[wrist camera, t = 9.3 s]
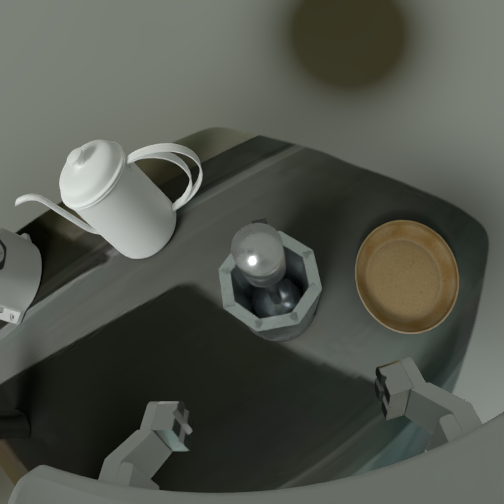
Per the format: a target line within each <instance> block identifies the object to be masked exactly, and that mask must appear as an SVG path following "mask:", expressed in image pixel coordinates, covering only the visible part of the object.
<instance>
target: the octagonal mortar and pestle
mask: <svg viewBox="0 0 504 504" xmlns="http://www.w3.org/2000/svg"><path fill="white" fill-rule="evenodd" d="M253 223H263V224H267V221H266V218H265V219H260V220H255V221H252V224H253ZM277 232H278V233H279V234H280V236H281V239H282V243H283V249H284V255H285V262H286V271H285V274H284V276H283V277H285V278H288V279H290V280H291V281H292V282H294V283H295V285H296V286H297V287H298V289H299V292H300V296H301V300H300V301H299V303H298V304H297V306H296V307H295V309H294V310H293V312H292V313H288V314H283V315H278V316H273V317H267V318H261V317H260V316H259V315H258V314H257V312H256V311H255V309H254V305H253V295H254V291H255V289H256V288H257V287H256V286H254V285H252V284H251V283H249V282H248V281H247V279H246V278H245V276H244V275H243V273H242V272H241V270H240V269H239V267H238V266H237V264H236V263H235V261H234V259H233V257H232V254H230V255H229V256H228V258H227V259H226V260H225V262H224V263H223V264H222V266H221V267H220V268H219V276H220V284H221V292H222V299H223V307H224V309H226V310H227V311H228V312H230V313H231V314H233V315H234V316H235V317H237V318H238V319H240V320H241V321H242V322H244V323H245V324H246V325H247V326H248V328H249V329H250V330H251V331H252V332H253V333H255V334H256V335H258V336H259V337H261V338H263V339H265V340H269V341H274V342H282V341H288V340H291V339H294V338H296V337H297V336H299V335H301V334H302V333H303V332H304V331H305V330H306V329H307V328H308V327H309V325H310V324H311V322H312V320H313V318H314V315H315V312H316V307H317V304H318V301H319V297H320V294H321V291H322V286H321V282H320V278H319V273H318V269H317V265H316V261H315V256H314V252H313V250H312V249H310V248H308V247H307V246H305V245H303V244H302V243H300V242H298V241H297V240H295V239H293V238H292V237H290V236H288V235H286V234H285V233H283V232H281V231H277Z"/></svg>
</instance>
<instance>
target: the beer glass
mask: <svg viewBox="0 0 504 504" xmlns="http://www.w3.org/2000/svg"><path fill="white" fill-rule="evenodd" d="M29 436H30V424H29V421H28V419H27V417H26V415H25V414H24V412H23V411H22V410H20V409H14V410H10V411H0V442H1V441H4V440H7V439H11V438H18V439H28V438H29Z"/></svg>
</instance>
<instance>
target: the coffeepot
mask: <svg viewBox="0 0 504 504" xmlns="http://www.w3.org/2000/svg"><path fill="white" fill-rule="evenodd" d="M170 152H176V153H181V154H184V155H187V156H188V157H190V158H192V159H193V160H194V161H195V162H196V163H197V164H198V166H199V168H200V173H199V177H198V179H197V181H196V183H195V184H194V186H193V187H192V179H191V173H190V170H189V168H188V166H187V165H186V164H185V162H184V161H183V160H182V159H181V158H179V157H178V156H176V155H175V154H173V153H170ZM144 158H160V159H166V160H169V161H172V162H174V163H176V164H177V165H179V166H180V167H181V168H182V169H183V170H184V171H185V172H186V173H187V175H188V177H189V179H190V181H189V185H188V187H187V189H186V191H185V193H184V194H183V195H182V197H180V198H179V199H178V200H176V202H175V203H173V204H172V202H171V201H170V199H169V198H168V197H167V196H166V195H165V194H164V193H163V192H162V191H161V190H160V189H159V188H158V187H157V186H156V185H155V184H154V183H153V182H152V181H151V180H150V179H149V178H148V177H147V176H146V175H145V174H144V173H143V172H142V171H141V170H140V168H139V167H138V166H137V165H136V164H135V163H134V161H136V160H139V159H144ZM201 182H202V168H201V163H200V160H199V158H198V156H197V155H196V154H195V153H194V152H193V151H192V150H190V149H189V148H187V147H185V146H182V145H178V144H173V143H163V144H155V145H151V146H147V147H144V148H141V149H139V150H136V151H134V152H133V153H131V154H129V155H128V156H127V155H126V154H125V152H124V150H123V148H122V147H121V145H120V144H118V143H117V142H115V141H111V140H103V139H97V140H93V141H90V142H88V143H86V144H84V145H83V146H81V147H80V148H76V149H74V150H73V151H72V152H71V153H70V154H69V156H68V157H67V162H66V163H65V165H64V167H63V170H62V172H61V176H60V180H59V187H60V191H61V198H62V201H63V202H64V204H65V205H66V206H68V207H69V208H71V209H73V210H75V211H76V212H77V213H78V214H79V215H80V216H81V217H82V218H83V219H84V220H85V221H86V222H87V223H88V224H89V225H91V226H92V227H91V226H89V225H87V224H86V223H84V222H82V221H81V220H79V219H78V218H76V217H75V216H73V215H72V214H70V213H69V212H67V211H66V210H64V209H62V208H61V207H59V206H58V205H56V204H55V203H53V202H52V201H50V200H49V199H47V198H45V197H44V196H41V195H39V194H26V195H23V196H21V197H19V198H17V200H16V203H15V206H17V205H19V204H21V203H23V202H26V201H30V200H34V201H38V202H41V203H43V204H44V205H46V206H48V207H49V208H51V209H52V210H54V211H55V212H57V213H59V214H60V215H62V216H63V217H65V218H66V219H68V220H70V221H71V222H73V223H74V224H76V225H78V226H79V227H81V228H83V229H84V230H86V231H88V232H91V233H95V234H100V235H101V236H103V237H104V238H105V239H106V240H107V241H108V242H109V243H110V244H111V245H113V246H114V247H115V248H116V249H117V250H118V251H119V252H121V253H122V254H123V255H125V256H127V257H129V258H134V259H141V258H146V257H149V256H152V255H154V254H155V253H157V252H158V251H160V250H161V249H162V248H163V247H164V246H165V245H166V244H167V242H168V241H169V240H170V238H171V236H172V234H173V232H174V229H175V225H176V216H177V215H176V210H177V209H178V208H180V207H181V206H183V205H184V204H185V203H187V202H188V201H189V200H190V199H191V198H192V197H193V196H194V195H195V193H196V192H197V191H198V189H199V187H200V185H201Z"/></svg>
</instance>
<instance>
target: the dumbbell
mask: <svg viewBox="0 0 504 504" xmlns="http://www.w3.org/2000/svg"><path fill="white" fill-rule="evenodd" d="M231 254H232V257H233V259H234V261H235V263H236V264H237V266H238V267H239V269H240V270H241V272H242V273H243V275H244V276H245V278H246V279H247V281H248V282H249V283H251V284H252V285H254V286H256V287H257V288H256V289H255V291H254V295H253V305H254V309H255V311H256V312H257V314H258V315H259V316H260V317H261V318H267V317H273V316H278V315H283V314H288V313H292V312H293V310H294V309H295V307H296V306H297V304H298V303H299V301H300V300H301V296H300V292H299V289H298V287H297V286H296V285H295V283H294V282H292V281H291V280H290V279H288V278H285V277H283V276H284V274H285V271H286V262H285V255H284V249H283V243H282V239H281V236H280V234H279V233H278V232H277V230H275V229H274V228H273V227H271V226H270V225H267V224H263V223H253V224H249V225H247V226H245V227H243V228H242V229H240V230H239V231H238V232H237V233H236V235H235V236H234V238H233V240H232V244H231Z"/></svg>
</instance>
